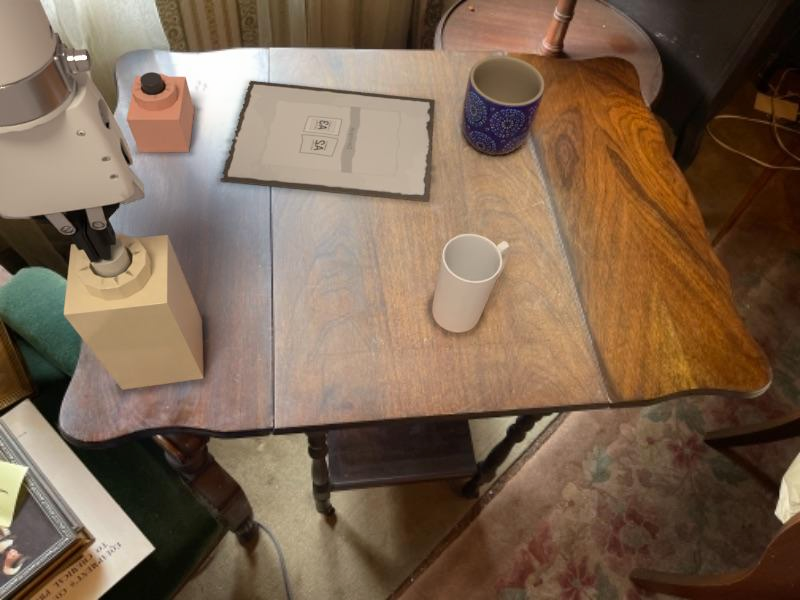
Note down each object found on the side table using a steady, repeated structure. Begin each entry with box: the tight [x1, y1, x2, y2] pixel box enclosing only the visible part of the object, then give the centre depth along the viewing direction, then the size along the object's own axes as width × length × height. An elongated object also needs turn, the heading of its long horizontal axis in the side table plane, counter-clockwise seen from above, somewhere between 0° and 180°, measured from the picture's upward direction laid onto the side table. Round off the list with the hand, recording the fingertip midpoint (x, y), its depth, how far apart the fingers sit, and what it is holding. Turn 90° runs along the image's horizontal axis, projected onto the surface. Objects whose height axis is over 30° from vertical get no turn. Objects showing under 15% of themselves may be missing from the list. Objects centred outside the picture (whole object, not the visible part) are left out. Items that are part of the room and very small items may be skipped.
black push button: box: [140, 71, 164, 95], centre depth 84 cm, size 3×3×2 cm
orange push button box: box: [126, 73, 195, 153], centre depth 87 cm, size 7×9×8 cm
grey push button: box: [87, 238, 130, 277], centre depth 55 cm, size 3×3×2 cm
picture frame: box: [219, 80, 435, 202], centre depth 92 cm, size 22×1×30 cm
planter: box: [461, 55, 546, 156], centre depth 90 cm, size 11×11×11 cm
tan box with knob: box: [63, 233, 205, 391], centre depth 64 cm, size 9×8×19 cm
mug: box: [431, 233, 511, 334], centre depth 73 cm, size 10×7×12 cm, turn 125°
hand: (100, 248), depth 54 cm, fingers closed
